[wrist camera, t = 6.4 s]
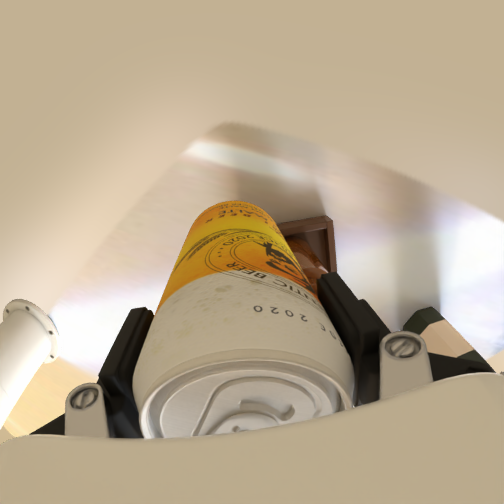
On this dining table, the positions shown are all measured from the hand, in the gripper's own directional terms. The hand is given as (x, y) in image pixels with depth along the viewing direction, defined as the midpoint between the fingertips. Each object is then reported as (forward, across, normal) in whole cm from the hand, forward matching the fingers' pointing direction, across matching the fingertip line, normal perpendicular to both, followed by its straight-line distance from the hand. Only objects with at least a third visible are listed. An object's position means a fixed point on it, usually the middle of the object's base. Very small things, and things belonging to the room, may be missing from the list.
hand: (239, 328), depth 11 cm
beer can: (+10, 0, 0) cm, 10 cm away
